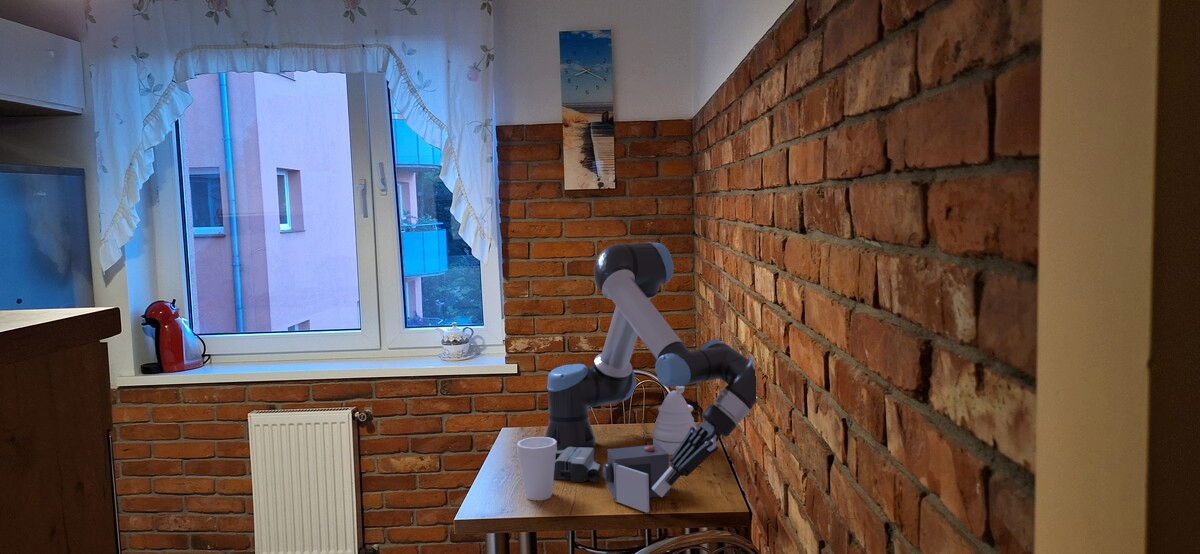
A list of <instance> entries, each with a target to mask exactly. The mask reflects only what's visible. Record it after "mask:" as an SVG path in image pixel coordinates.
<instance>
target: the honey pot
mask: <svg viewBox="0 0 1200 554" xmlns="http://www.w3.org/2000/svg"><path fill="white" fill-rule="evenodd" d="M684 392H685V385H684V386H677V387H675V390H671V391H669V393H667V394H666V396H665V398H664V400H663V401H662V404H661V405H660V406H658V408H657V410H658V415H657V417H656V418H655V420H656V421H655V424H654V427H653V430H652V445H657V444H659V445H660V446H661V447H662V448H663V449H664V450H665V451H666V452H667V453H668V454H669V455H671V456H672V455H673V454H674V452H675V451H676V450H677V448H678V447H679V445H680V444H681V442H682V441H683V440H684V438H685V437H686V435H687V433H688V431H689V429H690V428H691V427H694V428H695V429H696V428H697V427H696V423H695V418H694V417H693V415H692V412H693V411H694V407H693V405H690V404H688V403H687V401H686V400H685V397H684V396H683V395H682V394H683V393H684Z"/></svg>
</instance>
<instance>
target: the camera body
mask: <svg viewBox="0 0 1200 554" xmlns="http://www.w3.org/2000/svg"><path fill="white" fill-rule="evenodd" d="M606 451H607V463H604V464H603V466H602V474H603V480H604V482H605V483H606V484H608V491H609V492H610V493H611V495H612V497H613V499H614V500H615V487H614V463H618V465H621V466H625V467H628V468H631V469H634V470H637V471H640V472H643V473H647V474H648V480H649V499H650V498H657V497H658V498H659V497H660V496H659V495H658V494H657V493H656V492H655V491H654V490H653V489H652V487H653V486H654V484H655V483H656V482H657V481H658V480H659V479H660V478H661V476H662V475H663V474H664V473H665V472H666V471H667V469H668V468H669V467H670V458H669V454H668V453H667V452H666V451H665V450H664V449H663V448H662V447H661V446H660V445H659V444H657V445H653V444H647V445H640V446H639V445H638V446H629V447H618V448H616V447H615V448H607V450H606ZM665 496H666V497H667V496H670V489H669V490H668V491H667V492H666V493H665V494H664V496H663V497H665Z"/></svg>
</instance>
